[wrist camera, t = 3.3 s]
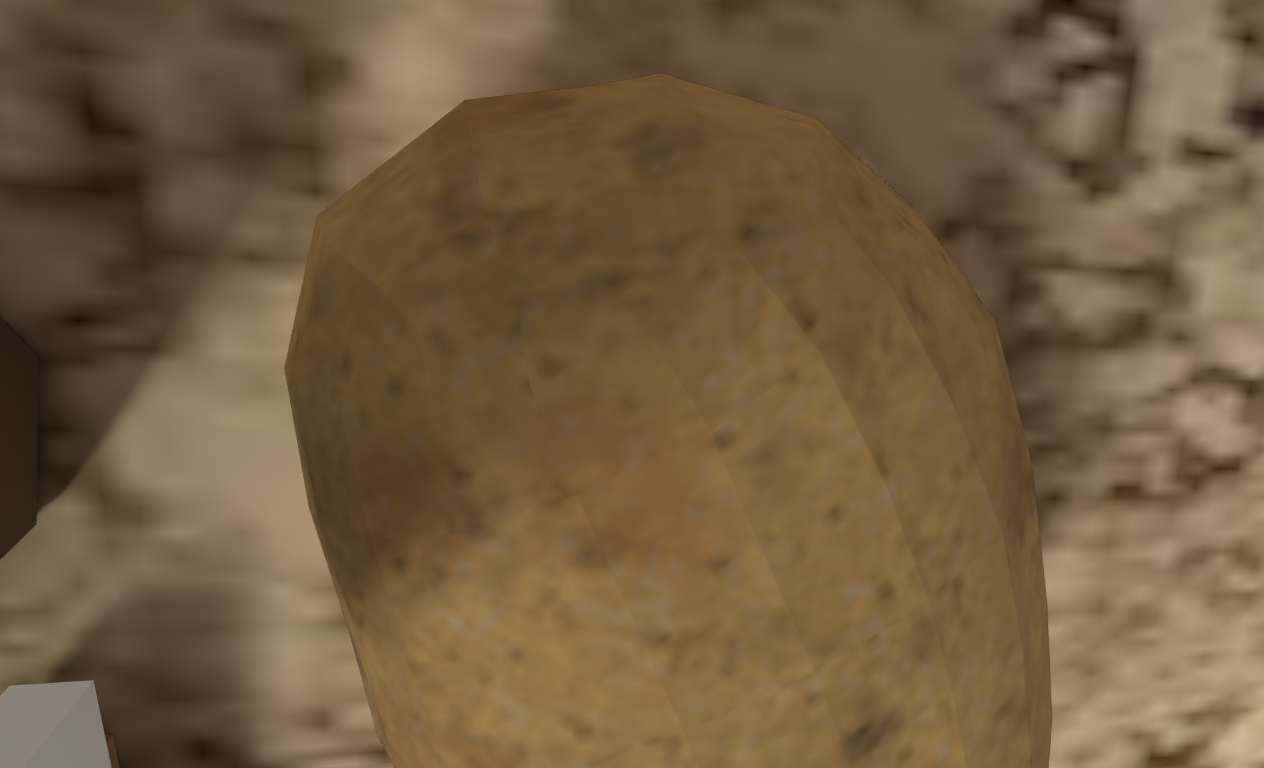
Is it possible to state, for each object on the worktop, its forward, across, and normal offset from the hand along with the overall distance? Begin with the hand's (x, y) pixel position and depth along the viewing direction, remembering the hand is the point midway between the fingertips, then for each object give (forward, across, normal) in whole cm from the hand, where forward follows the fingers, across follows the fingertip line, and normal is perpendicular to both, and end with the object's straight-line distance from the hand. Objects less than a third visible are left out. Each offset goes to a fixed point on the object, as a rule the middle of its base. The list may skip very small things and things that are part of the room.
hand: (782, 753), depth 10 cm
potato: (+9, 0, 0) cm, 9 cm away
